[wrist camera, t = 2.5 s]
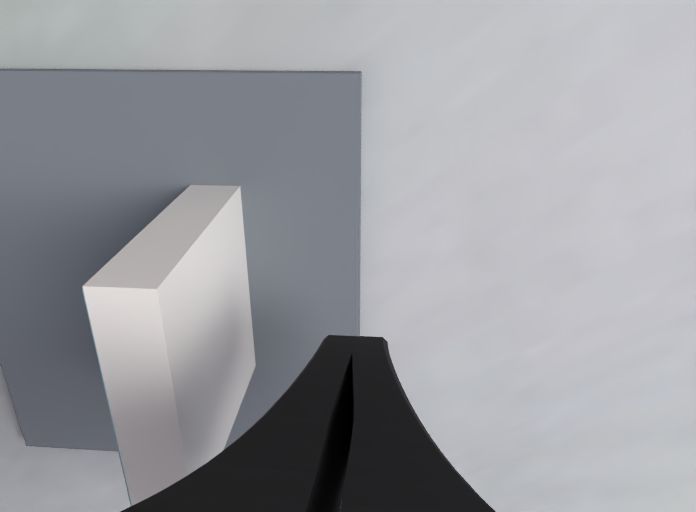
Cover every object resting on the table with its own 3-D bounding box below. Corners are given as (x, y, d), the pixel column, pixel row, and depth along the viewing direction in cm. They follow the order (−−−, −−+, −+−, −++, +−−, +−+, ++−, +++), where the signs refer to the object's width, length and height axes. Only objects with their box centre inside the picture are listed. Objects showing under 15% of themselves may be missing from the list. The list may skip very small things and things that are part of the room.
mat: (358, 456, 20) (357, 465, 20) (32, 438, 21) (26, 445, 21) (361, 71, 15) (360, 73, 14) (-81, 67, 15) (-93, 70, 15)
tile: (255, 365, 18) (195, 523, 13) (208, 363, 18) (128, 519, 13) (240, 186, 16) (157, 289, 10) (185, 184, 16) (74, 286, 10)
